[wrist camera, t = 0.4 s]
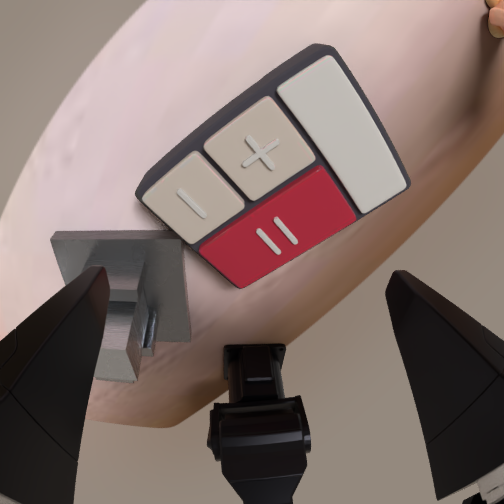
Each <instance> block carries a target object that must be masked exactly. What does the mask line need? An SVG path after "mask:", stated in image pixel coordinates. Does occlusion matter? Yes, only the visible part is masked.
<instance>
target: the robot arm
mask: <svg viewBox="0 0 504 504" xmlns="http://www.w3.org/2000/svg"><path fill="white" fill-rule="evenodd" d="M385 296H386V300H387V305H388V309H389V313H390V317H391V321H392V326H393V330H394V334H395V337H396V341H397V344H398V347H399V350H400V353H401V356H402V359H403V363H404V366H405V369H406V372H407V376H408V379H409V383H410V386H411V390H412V393H413V397H414V400H415V404H416V408H417V411H418V415H419V419H420V423H421V427H422V431H423V435H424V440H425V443H426V449H427V453H428V458H429V462H430V467H431V472H432V477H433V482H434V488H435V493H436V498H437V500H441V499H443V498H445V497H448V496H450V495H452V494H454V493H457V492H459V491H461V490H463V489H465V488H467V487H469V486H471V485H473V484H475V483H477V484H478V488H479V491H480V492H479V493H477V494H475V495H473V496H471V497H469V498H467V499H465V500H464V501H463V503H462V504H504V341H503V340H502V339H500V338H499V337H498V336H496V335H495V334H494V333H492V332H491V331H490V330H488V329H487V328H486V327H484V326H482V325H481V324H480V323H479V322H477V321H476V320H475V319H474V318H472V317H471V316H469V315H468V314H467V313H466V312H464V311H463V310H461V309H460V308H459V307H457V306H456V305H455V304H453V303H452V302H450V301H449V300H448V299H446V298H445V297H443V296H442V295H441V294H439V293H438V292H436V291H435V290H433V289H432V288H430V287H429V286H427V285H426V284H425V283H423V282H422V281H420V280H419V279H417V278H416V277H415V276H413V275H412V274H410V273H409V272H407V271H405V270H396V271H394V272H393V273H392V276H391V278H390V280H389V283H388V285H387V288H386V291H385ZM109 298H110V285H109V281H108V277H107V272H106V269H105V267H104V266H100V265H92V266H90V267H89V268H87V269H86V270H85V271H84V272H82V273H81V274H80V275H78V276H77V277H76V278H75V279H73V280H72V281H71V282H70V283H68V284H67V285H66V286H65V287H63V288H62V289H61V290H60V291H58V292H57V293H56V294H55V295H54V296H52V297H51V298H50V299H49V300H47V301H46V302H45V303H44V304H43V305H41V306H40V307H39V308H38V309H37V310H36V311H34V312H33V313H32V314H31V315H30V316H29V317H27V318H26V319H25V320H24V321H23V322H22V323H20V324H19V325H18V326H17V327H16V329H14V330H12V331H11V332H10V333H9V334H8V335H7V336H6V337H4V338H3V339H2V340H1V341H0V504H73V502H74V491H75V482H76V474H77V466H78V462H77V461H78V458H79V451H80V444H81V438H82V432H83V426H84V421H85V415H86V410H87V405H88V400H89V395H90V391H91V386H92V381H93V377H94V373H95V368H96V364H97V360H98V356H99V352H100V348H101V344H102V340H103V335H104V329H105V322H106V316H107V310H108V304H109ZM285 351H286V346H285V344H260V345H226V346H225V347H224V379H225V380H228V386H229V403H214V409H213V410H211V411H210V427H209V433H208V439H207V447H209V448H210V449H211V450H212V452H213V454H214V456H215V460H216V461H221V467H222V474H223V475H224V477H225V478H226V479H227V481H228V482H229V483H230V485H231V486H232V487H233V489H234V490H235V491H236V492H237V494H238V495H239V496H240V498H241V499H242V500H243V503H244V504H293V499H292V496H293V494H294V492H295V490H296V488H297V486H298V484H299V482H300V480H301V478H302V476H303V474H304V471H305V469H306V467H307V458H306V453H310V451H311V437H310V430H309V425H308V421H307V418H306V414H305V410H304V406H303V403H302V399H301V396H300V395H298V396H295V397H289V398H285V395H284V389H283V382H282V376H281V368H282V364H283V360H284V356H285Z"/></svg>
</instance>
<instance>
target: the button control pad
mask: <svg viewBox="0 0 504 504" xmlns="http://www.w3.org/2000/svg"><path fill="white" fill-rule="evenodd" d="M410 186H411V181H410V178H409V176H408V174H407V172H406V170H405V167H404V165H403V163H402V161H401V159H400V157H399V155H398V153H397V151H396V149H395V147H394V145H393V143H392V141H391V140H390V138H389V136H388V134H387V132H386V130H385V128H384V126H383V125H382V123H381V121H380V119H379V117H378V116H377V114H376V112H375V110H374V109H373V107H372V105H371V104H370V102H369V100H368V99H367V97H366V95H365V94H364V92H363V90H362V89H361V87H360V85H359V84H358V82H357V81H356V79H355V77H354V76H353V74H352V73H351V71H350V70H349V68H348V67H347V65H346V64H345V62H344V61H343V59H342V58H341V56H340V55H339V53H338V52H337V51H336V49H335V48H334V47H332V46H330V45H324V44H316V43H315V44H312V45H310V46H308V47H307V48H305V49H304V50H302V51H301V52H299V53H297V54H296V55H294V56H293V57H291V58H290V59H288V60H287V61H285V62H284V63H282V64H281V65H279V66H278V67H277V68H275V69H274V70H272V71H271V72H269V73H268V74H267V75H265V76H264V77H263V78H262V79H260V80H259V81H258V82H257V83H255V84H254V85H252V86H251V87H250V88H248V89H247V90H245V91H244V92H243V93H241V94H240V95H239V96H237V97H236V98H235V99H233V100H232V101H231V102H229V103H228V104H227V105H225V106H224V107H223V108H222V109H220V110H219V111H218V112H216V113H215V114H214V115H213V116H211V117H210V118H209V119H208V120H206V121H205V122H204V123H203V124H201V125H200V126H199V127H198V128H197V129H195V130H194V131H193V132H192V133H190V134H189V135H188V136H187V137H186V138H185V139H183V140H182V141H181V142H180V143H179V144H178V145H176V146H175V147H174V148H173V149H172V150H171V151H170V152H168V153H167V154H166V155H165V156H164V157H163V158H162V159H161V160H160V161H158V162H157V163H156V164H155V165H154V166H153V167H152V168H151V169H150V170H149V171H148V172H147V173H146V174H145V175H144V177H143V179H142V180H141V182H140V184H139V186H138V187H137V189H136V191H135V196H136V197H137V199H138V200H139V201H140V202H141V203H143V204H144V205H145V206H146V207H147V208H148V209H149V210H150V211H151V212H152V213H153V214H155V215H156V216H157V217H158V218H159V219H160V220H161V221H162V222H163V223H164V224H165V225H167V226H168V227H169V228H170V229H171V230H172V231H173V232H174V233H175V234H176V235H178V236H179V237H180V238H181V239H182V240H183V241H184V242H185V243H186V244H188V245H189V246H190V247H191V248H192V249H193V250H194V251H195V252H197V253H198V254H199V255H200V256H201V257H202V258H203V259H204V260H206V261H207V262H208V263H209V264H210V265H211V266H212V267H214V268H215V269H216V270H217V271H218V272H219V273H220V274H221V275H223V276H224V277H225V278H226V279H227V280H228V281H229V282H231V283H232V284H233V285H234V286H235V287H237V288H239V289H242V288H245V287H246V286H248V285H250V284H252V283H253V282H255V281H257V280H259V279H260V278H262V277H264V276H265V275H267V274H269V273H270V272H272V271H274V270H276V269H277V268H279V267H281V266H282V265H284V264H286V263H287V262H289V261H291V260H293V259H294V258H296V257H298V256H299V255H301V254H303V253H304V252H306V251H308V250H309V249H311V248H313V247H314V246H316V245H318V244H319V243H321V242H323V241H324V240H326V239H328V238H329V237H331V236H333V235H334V234H336V233H337V232H339V231H341V230H342V229H344V228H346V227H347V226H349V225H351V224H352V223H354V222H356V221H357V220H359V219H360V218H362V217H364V216H365V215H367V214H369V213H370V212H372V211H373V210H375V209H377V208H378V207H380V206H381V205H383V204H385V203H386V202H388V201H389V200H391V199H393V198H394V197H396V196H397V195H399V194H401V193H402V192H404V191H405V190H407V189H408V188H409V187H410Z"/></svg>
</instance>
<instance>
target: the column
mask: <svg viewBox="0 0 504 504" xmlns="http://www.w3.org/2000/svg"><path fill="white" fill-rule="evenodd" d="M148 317H149V312H148V308H147V303H146V298H145V293H144V289H142V293H141V297H140V301H139V302H127V301H109V304H108V310H107V316H106V322H105V329H104V335H103V340H102V344H101V348H100V352H99V356H98V360H97V364H96V368H95V373H94V377H95V378H96V380H105V381H115V382H126V383H134V381H138V375H139V368H140V362H141V356H142V350H143V344H144V339H145V333H146V328H147V322H148Z"/></svg>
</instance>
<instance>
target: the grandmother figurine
mask: <svg viewBox="0 0 504 504" xmlns="http://www.w3.org/2000/svg"><path fill="white" fill-rule="evenodd" d="M486 2H487V4H488V6H489V7H490V8H492V9H491V10H490V13H489V18H488V28H489V31H490V33H491V34H492V35H493V36H494V37H496V38H502V37H504V0H486Z"/></svg>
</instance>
